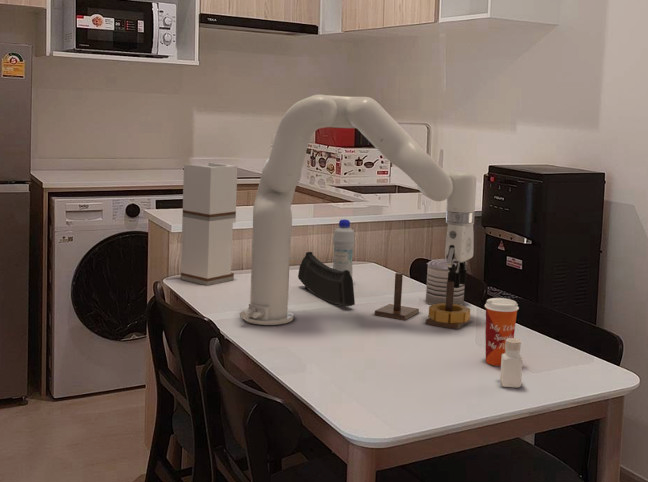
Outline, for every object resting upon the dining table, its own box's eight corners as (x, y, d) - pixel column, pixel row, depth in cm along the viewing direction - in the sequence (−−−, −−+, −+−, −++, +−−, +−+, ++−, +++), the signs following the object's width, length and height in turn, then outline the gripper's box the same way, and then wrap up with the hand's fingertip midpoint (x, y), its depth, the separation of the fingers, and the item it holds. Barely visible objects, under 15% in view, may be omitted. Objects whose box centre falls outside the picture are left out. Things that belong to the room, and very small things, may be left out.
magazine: (360, 279, 222) (315, 230, 245) (350, 280, 220) (305, 230, 243) (349, 333, 227) (306, 280, 250) (338, 335, 225) (296, 281, 248)
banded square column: (233, 279, 252) (237, 166, 248) (207, 285, 243) (211, 167, 239) (207, 273, 258) (210, 162, 254) (180, 279, 249) (183, 164, 245)
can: (470, 306, 235) (473, 265, 234) (433, 308, 231) (436, 266, 230) (454, 297, 246) (456, 257, 245) (419, 298, 241) (421, 258, 240)
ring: (460, 325, 210) (460, 315, 210) (423, 319, 215) (423, 309, 214) (474, 316, 220) (475, 307, 220) (438, 310, 224) (439, 301, 224)
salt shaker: (518, 381, 174) (521, 338, 173) (521, 388, 170) (524, 343, 169) (499, 381, 173) (502, 337, 173) (501, 387, 169) (504, 342, 169)
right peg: (457, 329, 211) (460, 286, 210) (425, 323, 214) (428, 281, 213) (470, 321, 219) (472, 280, 218) (438, 316, 223) (441, 275, 222)
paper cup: (487, 368, 181) (491, 306, 180) (476, 357, 189) (480, 297, 187) (520, 367, 184) (524, 305, 182) (508, 356, 191) (512, 297, 190)
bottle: (327, 283, 253) (330, 219, 251) (336, 279, 260) (339, 217, 258) (347, 286, 251) (350, 221, 250) (355, 282, 258) (359, 219, 256)
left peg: (404, 320, 217) (407, 278, 216) (374, 315, 220) (376, 273, 219) (418, 313, 225) (421, 272, 224) (389, 308, 229) (391, 268, 228)
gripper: (462, 223, 209) (458, 293, 211) (483, 215, 225) (480, 281, 227) (435, 220, 212) (431, 289, 214) (458, 213, 228) (454, 278, 230)
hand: (456, 284), depth 220 cm, fingers open, 4 cm apart
